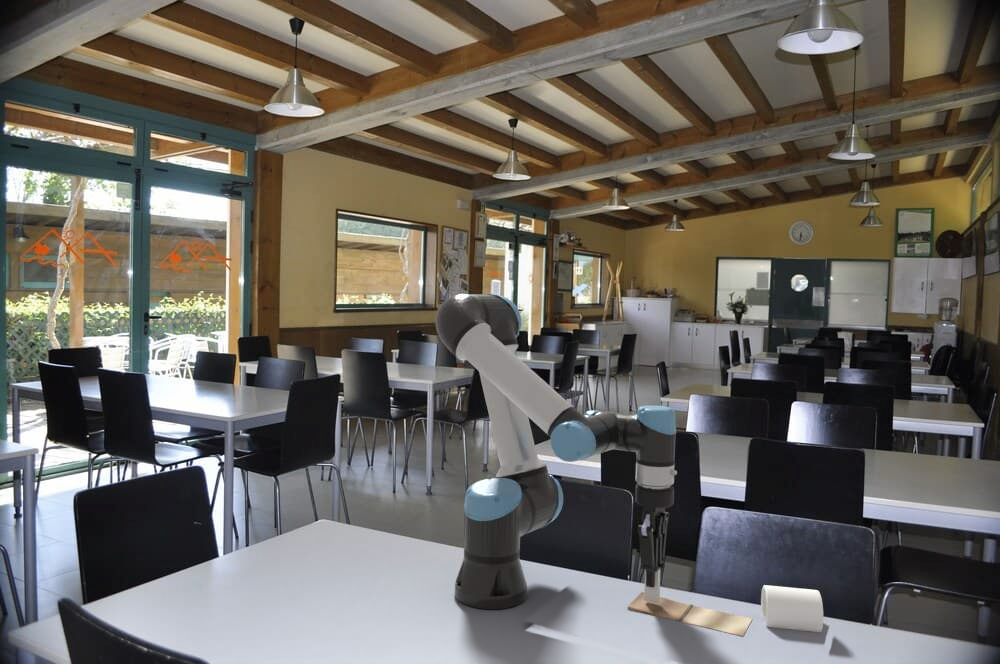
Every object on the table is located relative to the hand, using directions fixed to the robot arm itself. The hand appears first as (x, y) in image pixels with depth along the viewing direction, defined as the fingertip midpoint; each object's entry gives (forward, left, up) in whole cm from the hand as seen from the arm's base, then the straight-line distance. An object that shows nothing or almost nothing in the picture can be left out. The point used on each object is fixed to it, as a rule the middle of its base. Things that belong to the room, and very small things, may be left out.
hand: (651, 600), depth 150 cm
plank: (+1, 0, -2) cm, 2 cm away
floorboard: (+13, 0, -2) cm, 13 cm away
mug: (+25, +9, -3) cm, 26 cm away
